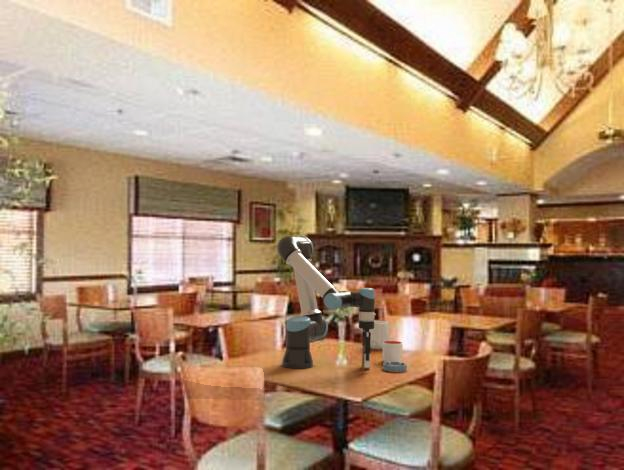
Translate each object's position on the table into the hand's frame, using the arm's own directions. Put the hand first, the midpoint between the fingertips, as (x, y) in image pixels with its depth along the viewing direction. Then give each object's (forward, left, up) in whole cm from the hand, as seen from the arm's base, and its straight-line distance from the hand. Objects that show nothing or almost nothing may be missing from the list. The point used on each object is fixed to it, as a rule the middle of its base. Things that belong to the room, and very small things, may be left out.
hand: (366, 364), depth 282 cm
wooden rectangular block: (0, 0, -2) cm, 2 cm away
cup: (+15, +19, -2) cm, 24 cm away
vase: (+12, +60, -2) cm, 61 cm away
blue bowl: (+14, 0, -2) cm, 14 cm away
